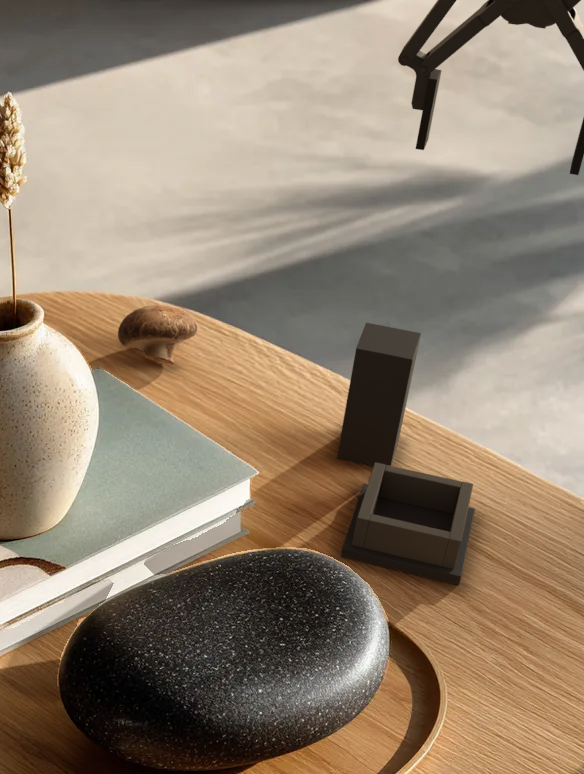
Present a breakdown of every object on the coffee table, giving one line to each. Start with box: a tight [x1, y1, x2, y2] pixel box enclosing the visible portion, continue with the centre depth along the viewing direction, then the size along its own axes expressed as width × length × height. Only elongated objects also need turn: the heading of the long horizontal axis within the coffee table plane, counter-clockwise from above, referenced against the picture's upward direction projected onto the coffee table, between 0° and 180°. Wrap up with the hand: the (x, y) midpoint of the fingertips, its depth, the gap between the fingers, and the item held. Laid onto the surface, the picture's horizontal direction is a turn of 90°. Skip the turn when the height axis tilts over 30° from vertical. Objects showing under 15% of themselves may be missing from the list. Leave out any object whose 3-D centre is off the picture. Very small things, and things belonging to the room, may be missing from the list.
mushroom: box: [117, 304, 198, 365], centre depth 137 cm, size 8×8×6 cm
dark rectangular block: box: [336, 322, 422, 468], centre depth 123 cm, size 5×5×12 cm
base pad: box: [340, 462, 476, 586], centre depth 115 cm, size 10×10×4 cm
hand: (497, 156), depth 121 cm, fingers open, 13 cm apart
